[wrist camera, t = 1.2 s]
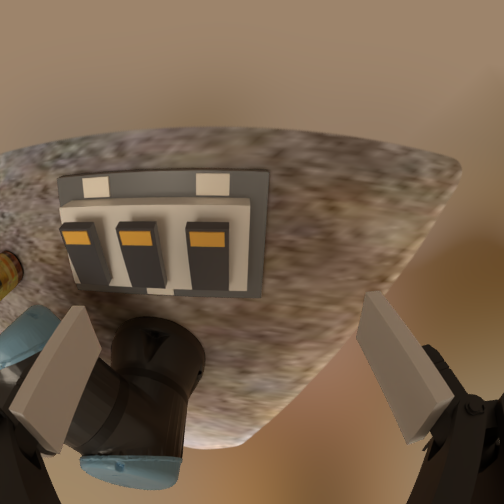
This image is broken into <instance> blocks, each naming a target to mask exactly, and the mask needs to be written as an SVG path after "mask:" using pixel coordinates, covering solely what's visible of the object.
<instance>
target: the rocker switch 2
mask: <svg viewBox="0 0 504 504" xmlns="http://www.w3.org/2000/svg"><path fill="white" fill-rule="evenodd" d="M115 229H116V233H117V237H118V241H119V245H120V248H121V252H122V255H123V259H124V262H125V266H126V269H127V272H128V276H129V279H130V282H131V285H132V287H140V288H161V289H166V285H167V276H166V271H165V266H164V261H163V256H162V250H161V244H160V239H159V233H158V226H157V221H119V223H118V224H117V226H116V228H115Z"/></svg>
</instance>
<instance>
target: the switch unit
mask: <svg viewBox="0 0 504 504" xmlns="http://www.w3.org/2000/svg"><path fill="white" fill-rule="evenodd" d="M57 185H58V193H59V201H60V208H59V209H60V215H61V221H62V224H63V223H64V222H94V224H95V227H96V231H97V234H98V238H99V241H100V244H101V247H102V251H103V254H104V257H105V260H106V263H107V266H108V269H109V272H110V274H111V277H112V279H111V282H110V284H109V286H107V285H92V284H81V283H80V281H79V278H78V276H77V274H76V271H75V269H74V267H73V264H72V262H71V259H70V257H69V254H68V257H69V261H70V265H71V269H72V273H73V277H74V281H75V283H76V284H77V288H78V290H88V291H101V292H115V293H130V294H147V295H166V296H189V297H221V298H261V293H262V278H263V264H264V249H265V234H266V218H267V202H268V185H269V171H268V170H262V169H229V168H177V169H145V170H125V171H110V172H97V173H85V174H75V175H65V176H61V177H59V178H57ZM119 221H157V226H158V233H159V239H160V244H161V250H162V256H163V261H164V266H165V271H166V276H167V285H166V289H161V288H140V287H132V285H131V282H130V279H129V276H128V272H127V269H126V266H125V262H124V259H123V255H122V252H121V248H120V245H119V241H118V237H117V233H116V229H115V228H116V226H117V224H118V223H119ZM187 222H229V291H217V290H192V285H191V277H190V269H189V261H188V252H187V243H186V233H185V227H186V223H187Z"/></svg>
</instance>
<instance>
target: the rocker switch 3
mask: <svg viewBox="0 0 504 504" xmlns="http://www.w3.org/2000/svg"><path fill="white" fill-rule="evenodd" d="M185 233H186V243H187V252H188V261H189V269H190V277H191V285H192V290H217V291H229V222H187V223H186V227H185Z"/></svg>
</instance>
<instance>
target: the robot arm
mask: <svg viewBox="0 0 504 504" xmlns="http://www.w3.org/2000/svg"><path fill="white" fill-rule="evenodd" d="M356 339H357V341H358V343H359V344H360V346H361V348H362V350H363V352H364V354H365V356H366V358H367V360H368V362H369V364H370V366H371V368H372V370H373V372H374V374H375V376H376V378H377V381H378V383H379V385H380V387H381V389H382V391H383V393H384V395H385V397H386V399H387V402H388V403H389V406H390V408H391V410H392V412H393V414H394V417H395V419H396V421H397V423H398V425H399V428H400V430H401V432H402V434H403V437H404V439H405V441H406V444H407V445H408V444H412V443H414V442H417V441H419V440H422V439H424V437H425V436H426V435H427V434H428V433H429V431H430V432H431V434H432V436H433V437H432V438H431V439H430V441H429V442H428V443H427V444H426V445H425V447H424V448H423V450H422V451H425V450H426V449H427V448H428V449H427V453H426V455H425V458H424V461H423V464H422V467H421V469H420V472H419V475H418V478H417V480H416V482H415V485H414V487H413V490H412V492H411V495H410V497H409V499H408V501H407V503H406V504H504V393H503V394H502V396H501V397H500V399H499V400H492V401H484V400H483V399H482V398H481V397H479V396H477V395H473V394H468V393H467V392H466V391H465V389H464V388H463V386H462V385H461V383H460V382H459V380H458V379H457V377H455V375H454V373H453V372H452V370H451V369H449V366H448V365H447V363H446V362H444V359H443V358H442V356H441V355H440V353H439V352H438V351H437V350H436V349H434V348H433V347H431V346H430V345H424V346H421V345H420V344H419V342H418V341H417V339H416V338H415V337H414V335H413V334H412V333H411V331H410V330H409V328H408V327H407V326H406V324H405V323H404V322H403V320H402V319H401V318H400V316H399V315H398V313H397V312H396V311H395V310H394V308H393V307H392V306H391V304H390V303H389V302H388V300H387V299H386V298H385V296H384V295H383V294H382V293H381V291H372V292H366V293H365V298H364V303H363V308H362V313H361V318H360V322H359V327H358V331H357V336H356ZM101 350H102V348H101V346H100V344H99V341H98V339H97V336H96V334H95V332H94V329H93V327H92V324H91V321H90V319H89V316H88V313H87V311H86V308H85V306H72V307H71V308H70V309H69V311H68V312H67V314H66V315H65V317H64V318H63V319H62V321H61V320H60V319H58V318H57V317H56V316H55V315H54V314H53V313H52V312H51V311H50V310H49V309H48V308H47V307H45V306H42V305H33V306H31V307H30V308H28V309H27V310H26V311H25V312H24V313H23V314H22V315H20V316H19V317H18V318H17V319H16V320H15V321H14V322H13V323H12V324H11V325H10V326H9V327H8V328H6V329H5V330H4V331H3V332H2V333H1V334H0V504H61V502H60V500H59V498H58V496H57V494H56V491H55V489H54V487H53V485H52V482H51V480H50V477H49V475H48V472H47V470H46V467H45V464H44V462H43V459H42V457H54V456H55V455H56V453H57V454H60V452H61V449H62V446H63V444H66V445H68V446H69V447H71V448H73V449H74V450H76V451H77V452H79V453H80V454H82V457H80V466H81V468H82V469H83V470H84V471H86V473H88V474H89V475H91V476H93V477H95V478H98V479H100V480H103V481H105V482H109V483H112V484H116V485H119V486H124V487H129V488H135V489H143V490H162V489H167V488H170V487H172V486H173V485H174V484H175V483H176V482H177V480H178V476H179V470H180V465H181V463H182V454H183V444H184V433H185V423H186V414H187V405H188V399H189V398H190V396H191V394H192V393H193V391H194V389H195V388H196V386H197V384H198V382H199V381H200V379H201V377H202V375H203V372H204V365H205V354H204V350H203V348H202V346H201V344H200V343H199V341H198V340H197V339H196V338H195V337H194V336H193V335H192V334H191V333H190V332H189V331H187V330H186V329H185V328H183V327H181V326H180V325H178V324H176V323H173V322H171V321H168V320H165V319H161V318H155V317H139V318H134V319H131V320H129V321H127V322H125V323H124V324H122V325H121V326H120V327H119V329H118V330H117V332H116V334H115V337H114V339H113V341H112V345H111V367H110V366H109V365H108V364H107V363H105V362H104V361H103V360H102V359H101V358H100V357H99V354H100V352H101ZM499 442H500V443H499Z"/></svg>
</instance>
